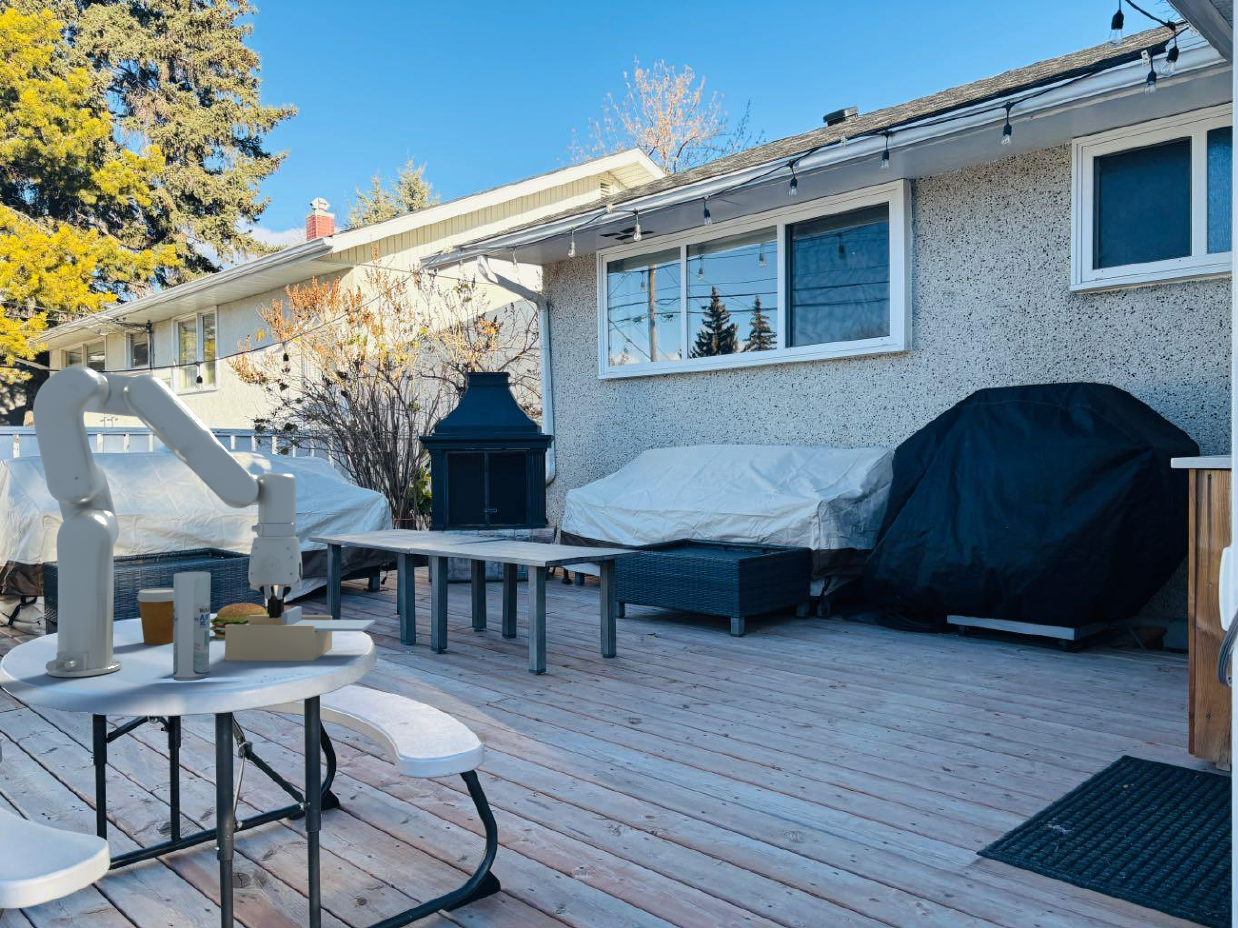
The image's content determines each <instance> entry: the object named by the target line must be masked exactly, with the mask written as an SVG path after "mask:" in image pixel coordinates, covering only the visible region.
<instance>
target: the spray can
mask: <svg viewBox="0 0 1238 928" xmlns="http://www.w3.org/2000/svg"><path fill="white" fill-rule="evenodd" d="M211 577H212V575H211V572H209V571H184V572H178V573H176V572H175V573H174V574H173V588H174V616H173V642H172V644H173V650H172V651H173V653H172V655H173V656H172V657H173V658H172V659H173V662H172V664H173V665H172V667H173V668H172V670H173V671H172V672H173V673H172V675H173V681H176V682H192V681H193V682H194V681H200V680H201V681H202V680H204V679H207V678H208V676H205V675H208V674H209V673H210V636H211V635H210V633H211V632H210V631H211V630H210V627H211V623H210V621H211V620H210V619H211V583H212V582H211V579H212V578H211Z"/></svg>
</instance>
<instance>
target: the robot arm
mask: <svg viewBox="0 0 1238 928" xmlns="http://www.w3.org/2000/svg"><path fill="white" fill-rule="evenodd" d="M35 395H36V396H35V399H34V401H33V407H32V418H33V425H34V429H35V434H36V439H37V444H38V449H39V453H40V458H41V462H42V466H43V467H42V468H43V471H44V474H45V480H46V486H47V489H48V492H49V494H50V495H51V496H52V498H54V500H56V501H57V502H58V506H59V509H60V510H59V511H60V513H61V518H62V520H63V522H61V524H60V526H59V528H58V531H57V534H56V535H57V536H56V561H57V652H56V656H55V657H56V658H55V659H53V660H49V661H48V662H46V663H45V669H46V671H47V674H48V675H49V676H51V677H59V678H80V677H83V678H84V677H90V676H91V677H92V676H99V675H104V674H105V675H106V674H108V673H109V674H110V673H113V672H115V671H118V670H120V669H122V661H121V660H119V659H114V608H115V607H114V601H115V599H114V595H115V593H114V592H115V591H114V589H115V588H114V586H115V585H114V583H115V582H114V580H115V578H114V576H115V575H114V574H115V573H114V572H115V570H114V568H115V567H114V564H115V562H114V545H115V544H116V542H117V540H118V537H119V533H120V532H119V531H120V528H119V527H120V526H119V521H118V519H117V514H116V509H115V507H114V506H115V505H114V503H113V499H112V494H111V490H110V487H109V482H108V479H107V476H106V473H105V470H103V468H102V467H101V465H99V463H97V462H96V461H95V459H94V456H93V453H92V449H91V444H90V441H89V436H88V431H87V429H86V425H85V419H84V418H85V417H84V414H85V413H92V414H93V413H94V414H95V413H97V414H104V415H105V414H106V415H113V416H122V417H123V416H125V417H135V418H136V417H137V419H138V420H139V421H141V423H143V425H144V426H146V428H148V430H150V432H151V433H152V434H154V436H155V437H157V439H158V440H159V441H160V442H161V443H163V445H164V446H165V447H167V449H168V450H169V451H170V452H171V453H172V454H173V455H174V456H175V457H176V458H177V459H178V460H179V461H181V462H182V463H183V464H185V465H186V466H187V467H188V468H189V469H190V470H191V471H192V472H193V473H194V474H196V476H198V478H199V479H200V480H201V481H202V482H203V483H205V485H206V486H207V487H208V488H209V489H210V490H211V491H212V492H213V493H214V494H215V495H216V496H217V497H218V498H219V499H220V500H221V501H222V502H223V503H224V504H225V505H227V506H228V507H230V508H232V509H244V508H247V507H249V506H258V507H257V508H258V511H257V513H258V516H257V523H256V524H255V525H254V524H253V525H251V532H255V533H256V536H257V537H253V540H252V544H251V548H250V556H249V564H248V574H247V575H248V582H249V583H250V585H249V589H251V590H254V591H257V592H260V593H261V594H262V595H263V596H264V597H265V599H266V600H267V602H266V603H267V604H266V605H267V609H266V611H267V613H268V614H269V618H279V617H281V616H282V613H283V612H285V598H286V597H287V596H288V595H289V594H290V593H291V592H293V591H295V592H296V591H299V590H302V588H303V583H302V579H303V560H302V559H303V557H302V549H301V543H300V539H299V537H297V536H296V533H297V532H296V526H297V522H296V521H297V520H296V519H297V517H296V516H297V479H296V477H295V475H294V474H293V473H292V474H291V473H288V472H287V473H284V472H283V473H282V472H267V473H261V474H259V473H252V472H249V471H248V470H246V468H245V467H244V466H243V465H242V464H241V463H240V462H239V461H238V460H237V459H236V458H235V457H234V456H233V455H232V454H231V453H230V452H229V450H228V449H226V448H225V446H224V445H223V444H222V443H221V442H220V441H219V439H217V437H216V436H215V435H214V433H213V431H212V430H211V429H210V428H209V427H208V426H207V425H206V424H205V422H204V421H203V420H202V419H201V418H199V416H197V414H196V413H194V411H193V410H192V409H191V408H190V407H189V406H188V405H187V404H186V403H185V402H184V401H183V400H182V399H181V398H180V397H179V395H177V394H176V392H175V391H173V390H172V389H171V387H169V385H168V384H166V382H165V381H164V380H163V379H161V378H160V377H158V376H156V375H153V374H151V373H150V374H148V373H147V374H146V373H145V374H144V373H143V374H139V375H137V376H129V375H123V374H122V375H121V374H114V373H105V372H100V371H96V370H94V369H93V368H91V367H88V366H85V365H71V366H68V367H64V368H62V369H60V370H58V371H57V372H55V373H53V374H52V375H50V376H49V377H48V378H47V379H46V380H45V381H44V382H43V383H42V385H41V386H40V388H39V389H38V391H37V393H36V394H35ZM275 586H277V590H276V588H275Z"/></svg>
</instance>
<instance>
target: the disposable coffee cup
mask: <svg viewBox="0 0 1238 928" xmlns="http://www.w3.org/2000/svg"><path fill="white" fill-rule="evenodd" d="M136 599H137V601H138V606H139V612H140V613H139V614H140V621H141V628H142V629H141V630H142V636H143V644H144V645H149V646H159V645H167V644H173V616H174V587H155V588H153V587H152V588H146V589H139V591H138V594H137V596H136Z"/></svg>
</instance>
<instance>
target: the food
mask: <svg viewBox="0 0 1238 928" xmlns="http://www.w3.org/2000/svg"><path fill="white" fill-rule="evenodd" d="M249 615H269V614H268V613H267V609H265V608H264V607H263V606H261V605H260V604H255V603H250V602H240V603H239V602H238V603H232V604H228V605H225V606H224V607H222V608H220V609H219V610H218V611H217V613H216V616H215V617H214V618H210V624H211V626H210V631H213V633H214V637H215V638H216V639H218V640H225V625H245V624H248V621H249Z"/></svg>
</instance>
